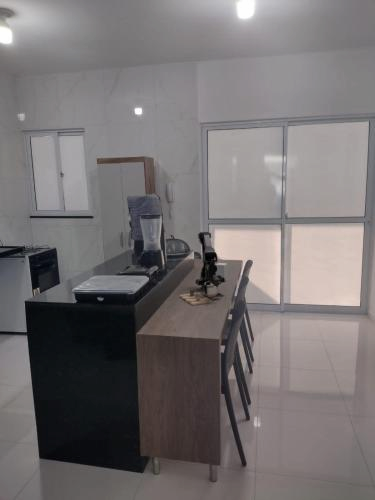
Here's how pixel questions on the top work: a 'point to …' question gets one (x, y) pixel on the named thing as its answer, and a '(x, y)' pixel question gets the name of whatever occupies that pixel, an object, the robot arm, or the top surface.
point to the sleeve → (211, 291)
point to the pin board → (195, 298)
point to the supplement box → (222, 270)
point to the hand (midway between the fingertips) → (210, 293)
